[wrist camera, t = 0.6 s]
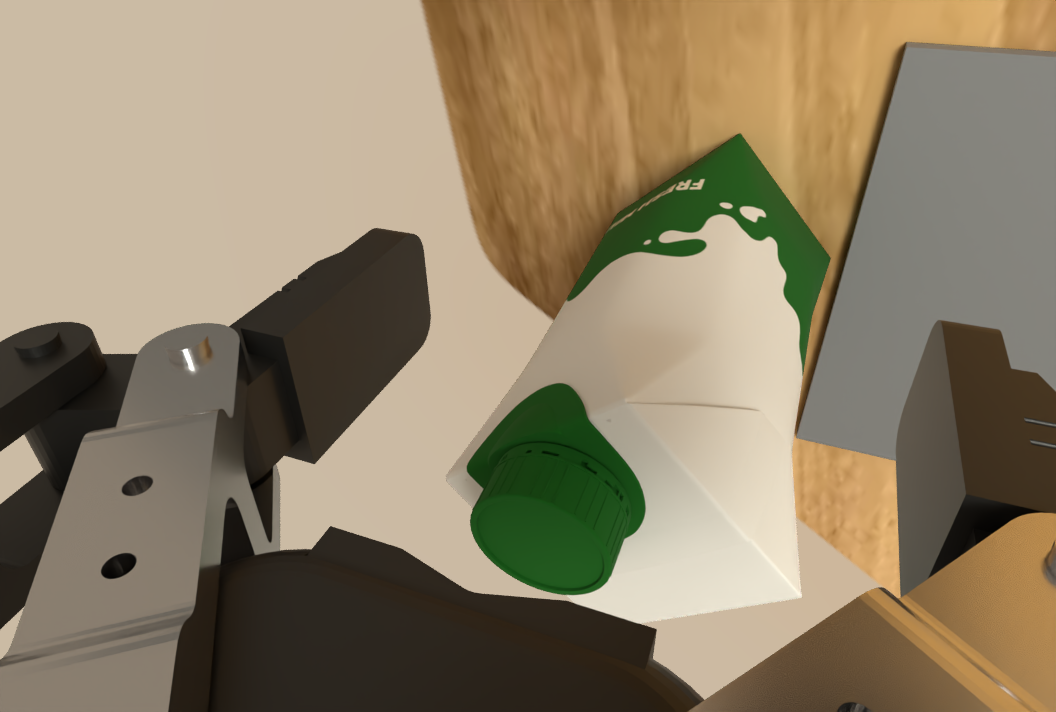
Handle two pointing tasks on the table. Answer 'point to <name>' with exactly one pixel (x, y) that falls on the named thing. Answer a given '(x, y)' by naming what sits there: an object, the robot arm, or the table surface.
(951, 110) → the mat
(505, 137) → the table surface
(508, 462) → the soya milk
